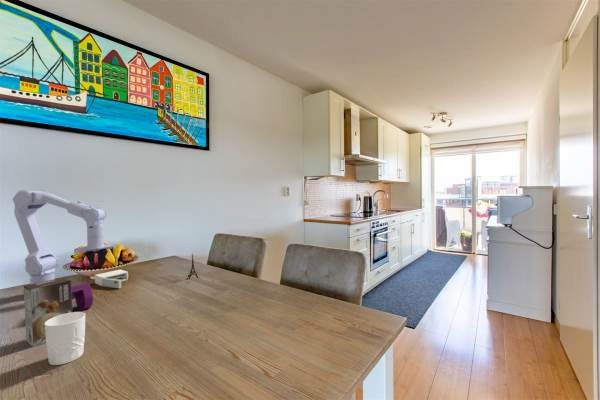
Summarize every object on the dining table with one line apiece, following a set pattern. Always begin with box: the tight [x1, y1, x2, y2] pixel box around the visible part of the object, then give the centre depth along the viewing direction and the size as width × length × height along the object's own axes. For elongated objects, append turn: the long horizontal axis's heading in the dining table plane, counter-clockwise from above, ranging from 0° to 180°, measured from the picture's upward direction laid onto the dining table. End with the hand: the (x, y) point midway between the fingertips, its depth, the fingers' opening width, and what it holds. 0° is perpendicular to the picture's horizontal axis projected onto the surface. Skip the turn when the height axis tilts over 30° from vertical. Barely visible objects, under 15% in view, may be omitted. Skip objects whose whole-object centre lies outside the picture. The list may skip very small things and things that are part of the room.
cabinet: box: [94, 269, 129, 287], centre depth 131 cm, size 8×11×4 cm
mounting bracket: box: [71, 282, 94, 311], centre depth 99 cm, size 10×8×18 cm
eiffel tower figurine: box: [187, 252, 199, 280], centre depth 136 cm, size 15×10×13 cm
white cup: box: [44, 311, 86, 366], centre depth 69 cm, size 8×8×10 cm
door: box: [101, 278, 122, 289], centre depth 122 cm, size 1×11×4 cm, turn 72°
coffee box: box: [23, 277, 73, 348], centre depth 79 cm, size 9×6×16 cm
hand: (96, 267), depth 117 cm, fingers open, 2 cm apart
